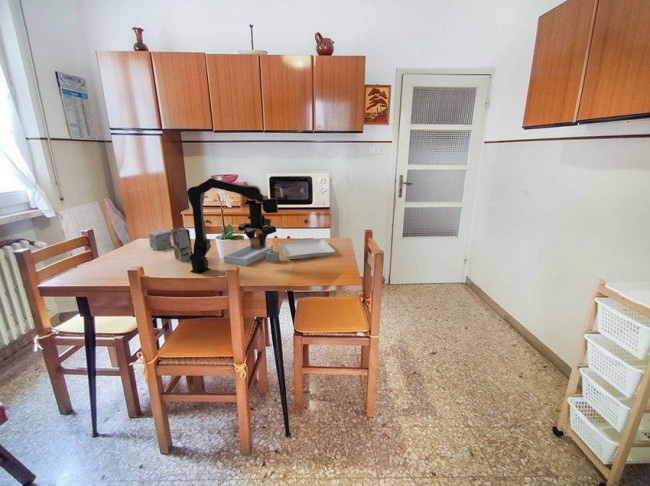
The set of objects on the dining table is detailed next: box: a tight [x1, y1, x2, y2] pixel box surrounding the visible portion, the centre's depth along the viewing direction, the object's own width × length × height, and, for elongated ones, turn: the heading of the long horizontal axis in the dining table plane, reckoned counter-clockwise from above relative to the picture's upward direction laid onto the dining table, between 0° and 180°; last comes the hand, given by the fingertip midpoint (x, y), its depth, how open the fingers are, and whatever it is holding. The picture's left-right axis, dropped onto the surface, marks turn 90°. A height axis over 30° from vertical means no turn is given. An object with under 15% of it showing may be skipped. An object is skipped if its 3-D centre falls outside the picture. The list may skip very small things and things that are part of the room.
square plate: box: [278, 238, 337, 260], centre depth 167 cm, size 27×27×4 cm
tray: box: [223, 244, 270, 267], centre depth 159 cm, size 22×14×4 cm, turn 156°
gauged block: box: [264, 244, 280, 264], centre depth 152 cm, size 5×5×8 cm
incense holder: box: [148, 228, 173, 251], centre depth 179 cm, size 10×8×10 cm
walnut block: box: [249, 235, 267, 250], centre depth 142 cm, size 5×5×5 cm
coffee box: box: [169, 227, 194, 262], centre depth 158 cm, size 9×6×16 cm
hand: (258, 245), depth 142 cm, fingers closed on walnut block, 5 cm apart
